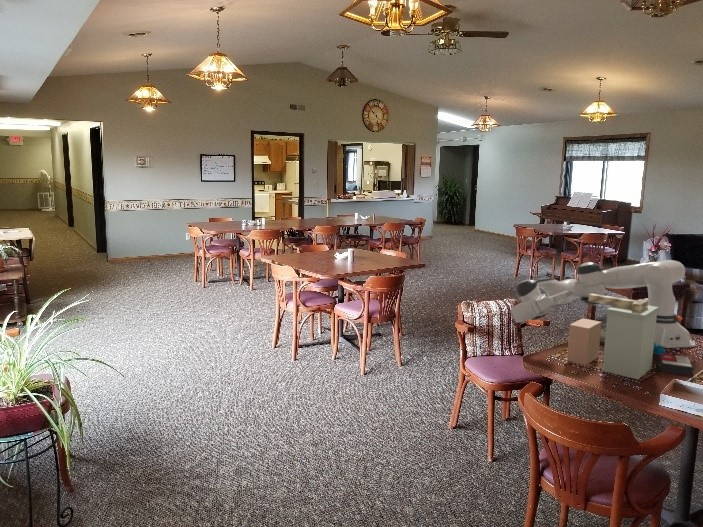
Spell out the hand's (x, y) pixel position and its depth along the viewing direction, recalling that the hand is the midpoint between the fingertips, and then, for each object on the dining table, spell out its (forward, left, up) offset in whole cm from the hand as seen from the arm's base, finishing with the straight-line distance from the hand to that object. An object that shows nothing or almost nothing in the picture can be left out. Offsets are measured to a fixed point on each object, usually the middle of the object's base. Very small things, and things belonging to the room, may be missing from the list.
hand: (570, 293), depth 235 cm
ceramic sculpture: (-26, -18, -28) cm, 42 cm away
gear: (-37, -2, -28) cm, 47 cm away
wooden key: (-15, +12, -2) cm, 19 cm away
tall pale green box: (-20, +16, -28) cm, 38 cm away
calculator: (-40, +12, -29) cm, 51 cm away
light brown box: (-6, +5, -28) cm, 29 cm away
